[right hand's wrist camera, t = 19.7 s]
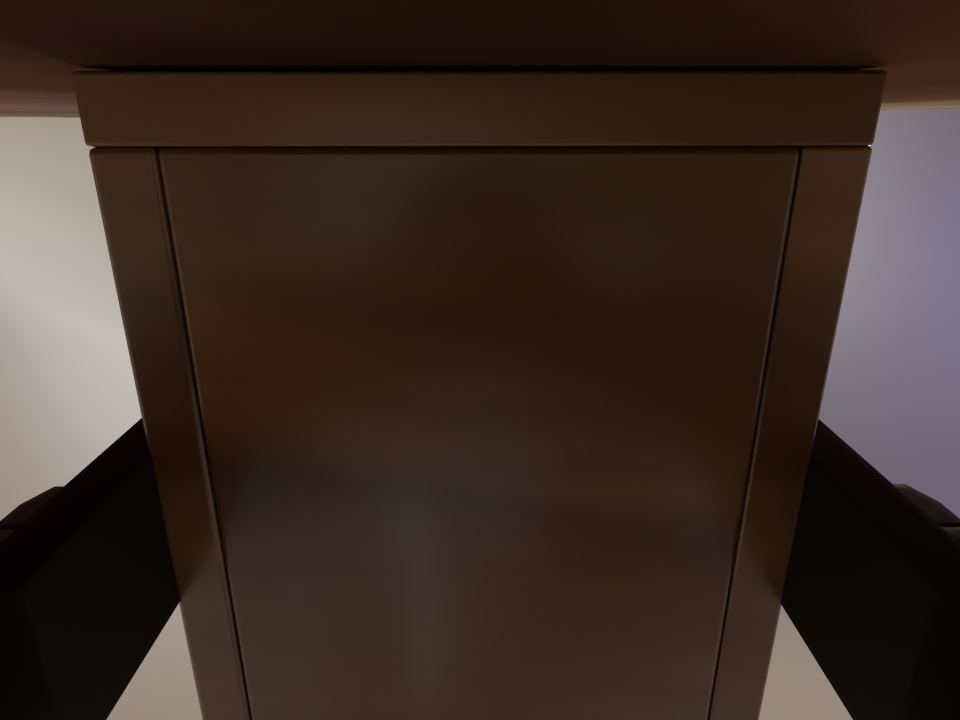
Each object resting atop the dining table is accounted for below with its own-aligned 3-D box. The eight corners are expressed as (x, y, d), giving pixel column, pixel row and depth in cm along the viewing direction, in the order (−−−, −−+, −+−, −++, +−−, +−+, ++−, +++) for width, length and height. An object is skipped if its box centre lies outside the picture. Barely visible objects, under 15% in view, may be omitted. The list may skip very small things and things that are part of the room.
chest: (627, 104, 22) (605, 404, 26) (336, 104, 22) (358, 404, 26) (890, 70, 8) (754, 747, 12) (68, 70, 8) (205, 745, 12)
